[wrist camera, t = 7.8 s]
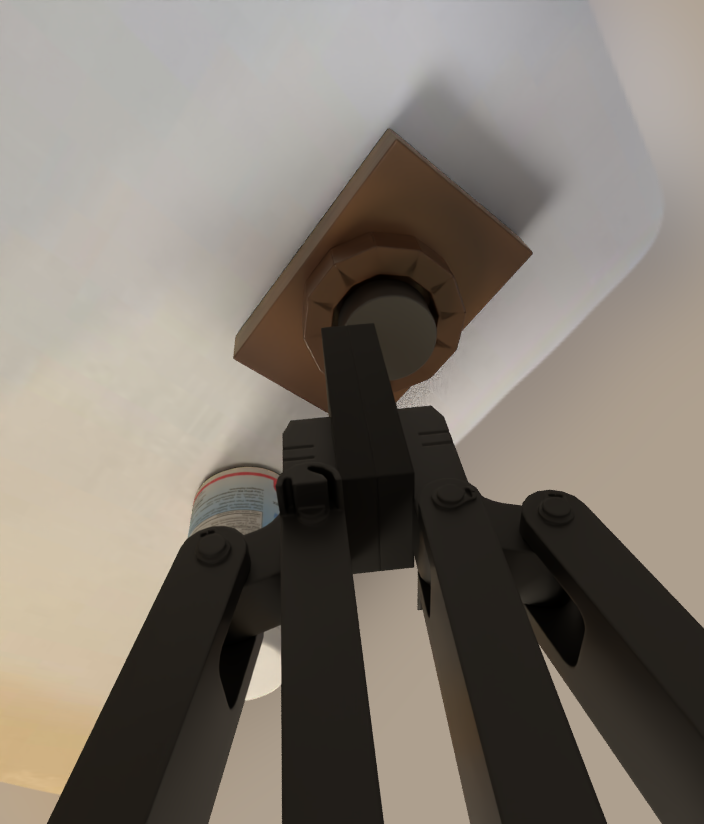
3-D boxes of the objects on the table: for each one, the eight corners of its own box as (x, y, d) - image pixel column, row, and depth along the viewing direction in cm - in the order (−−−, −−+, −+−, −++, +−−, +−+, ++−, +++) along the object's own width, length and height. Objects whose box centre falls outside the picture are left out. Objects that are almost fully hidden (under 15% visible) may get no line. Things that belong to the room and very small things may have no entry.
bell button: (376, 259, 26) (382, 276, 25) (447, 311, 28) (457, 329, 27) (319, 331, 28) (321, 351, 26) (389, 376, 30) (395, 396, 28)
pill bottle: (304, 531, 40) (313, 701, 30) (206, 544, 39) (184, 719, 30) (291, 454, 36) (296, 620, 27) (182, 468, 36) (150, 639, 27)
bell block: (388, 126, 27) (404, 148, 24) (518, 236, 30) (548, 268, 27) (234, 336, 32) (229, 379, 28) (361, 411, 35) (370, 457, 32)
